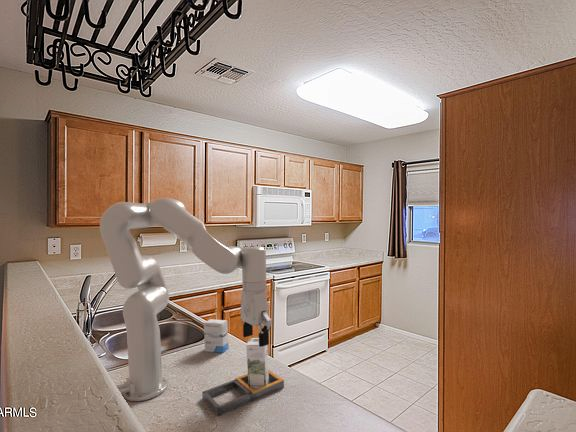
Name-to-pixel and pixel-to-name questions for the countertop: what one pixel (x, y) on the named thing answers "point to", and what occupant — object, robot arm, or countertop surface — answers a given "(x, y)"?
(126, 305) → the robot arm
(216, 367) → the countertop surface
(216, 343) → the ink box
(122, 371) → the countertop surface
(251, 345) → the syrup box
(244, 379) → the grey flat frame
